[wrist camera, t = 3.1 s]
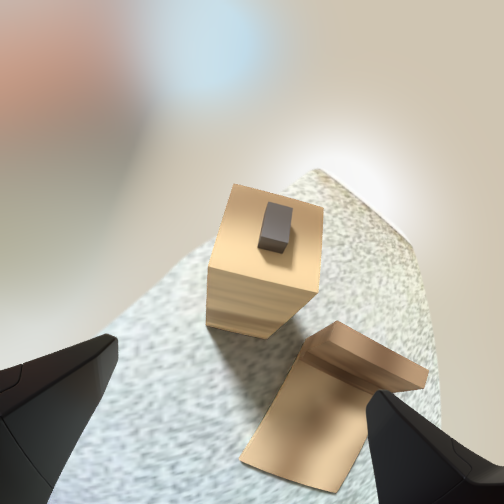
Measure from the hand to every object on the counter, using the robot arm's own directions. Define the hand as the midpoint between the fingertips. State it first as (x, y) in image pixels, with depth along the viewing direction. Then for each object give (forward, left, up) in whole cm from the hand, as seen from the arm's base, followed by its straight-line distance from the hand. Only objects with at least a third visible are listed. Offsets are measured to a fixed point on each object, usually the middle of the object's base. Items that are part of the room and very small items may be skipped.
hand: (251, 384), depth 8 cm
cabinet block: (+7, -2, -13) cm, 15 cm away
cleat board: (-4, -7, -13) cm, 15 cm away
